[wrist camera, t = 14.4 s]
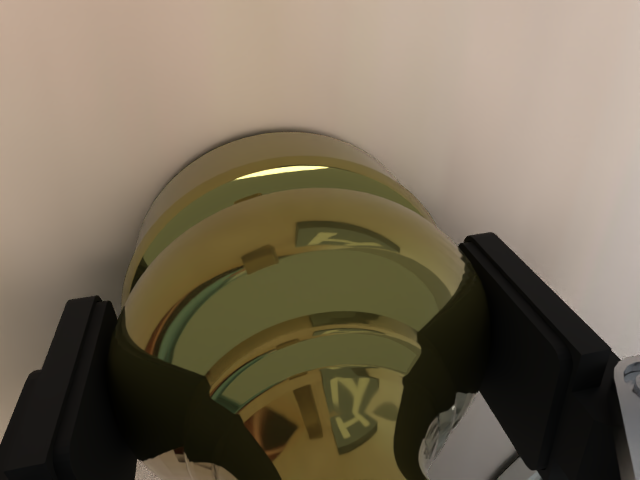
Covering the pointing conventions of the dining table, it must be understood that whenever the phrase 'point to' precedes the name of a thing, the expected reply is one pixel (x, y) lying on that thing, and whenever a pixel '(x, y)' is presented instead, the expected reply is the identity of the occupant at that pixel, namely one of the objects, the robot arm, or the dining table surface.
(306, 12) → the dining table surface
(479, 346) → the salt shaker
